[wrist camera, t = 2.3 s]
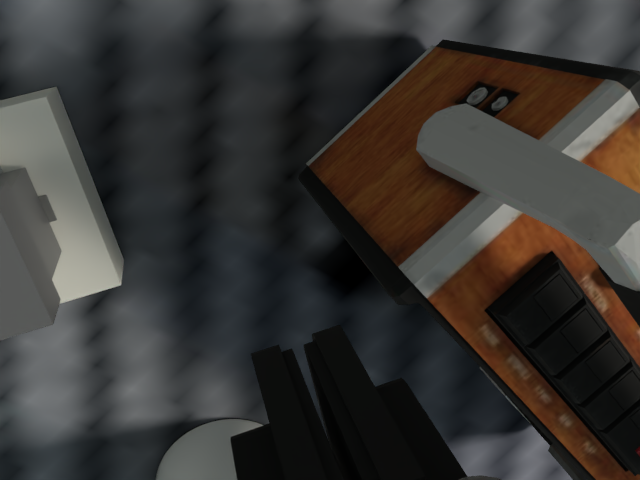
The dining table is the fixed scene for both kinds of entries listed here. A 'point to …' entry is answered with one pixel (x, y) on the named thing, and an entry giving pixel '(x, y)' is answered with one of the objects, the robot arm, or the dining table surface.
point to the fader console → (61, 191)
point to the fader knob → (25, 258)
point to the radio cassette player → (510, 230)
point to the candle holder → (204, 452)
